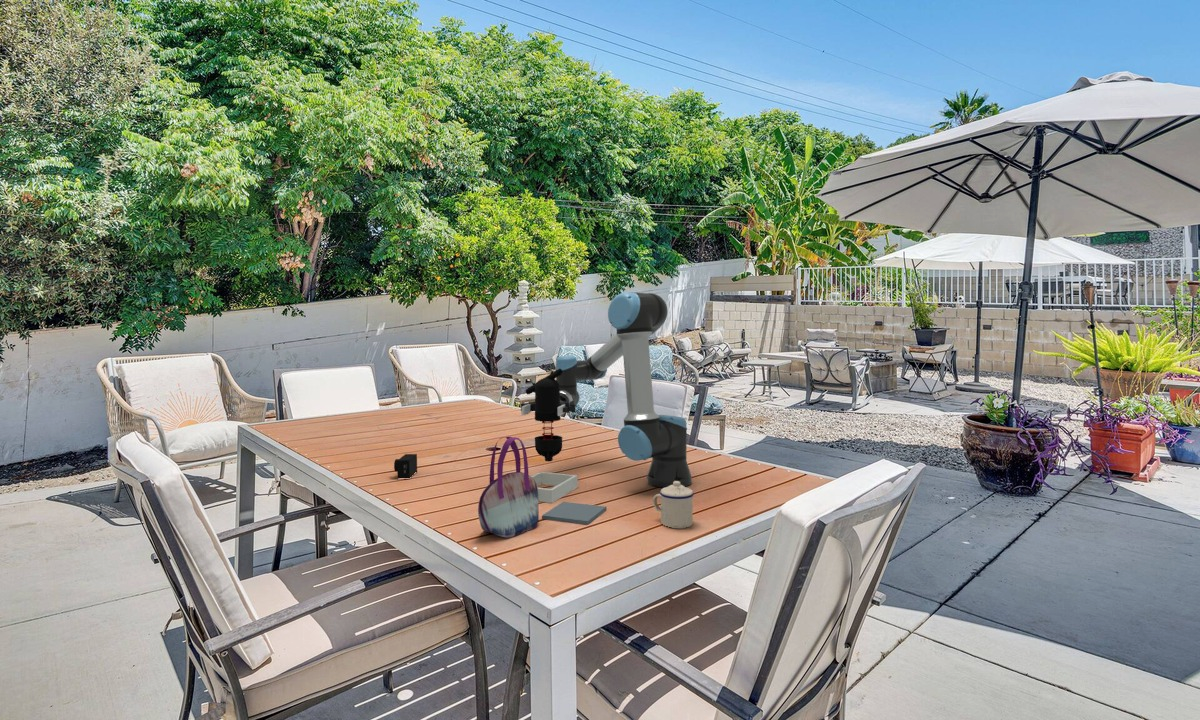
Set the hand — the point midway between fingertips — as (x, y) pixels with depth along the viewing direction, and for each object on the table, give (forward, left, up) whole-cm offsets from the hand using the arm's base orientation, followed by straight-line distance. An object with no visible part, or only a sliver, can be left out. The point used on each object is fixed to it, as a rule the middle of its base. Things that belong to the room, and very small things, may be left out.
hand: (540, 411), depth 195 cm
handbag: (-7, +31, -27) cm, 42 cm away
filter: (0, -4, -17) cm, 17 cm away
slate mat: (-18, +13, -27) cm, 35 cm away
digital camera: (+58, -5, -27) cm, 64 cm away
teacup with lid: (-46, +10, -27) cm, 54 cm away
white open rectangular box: (0, -4, -27) cm, 27 cm away
